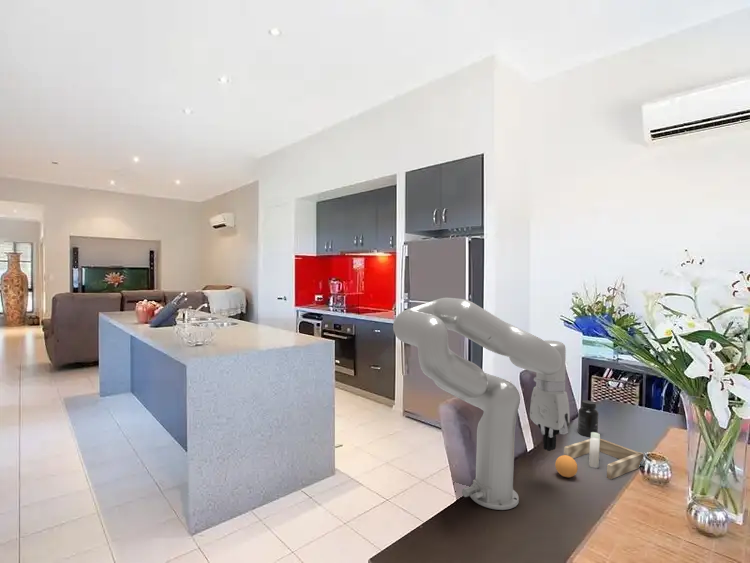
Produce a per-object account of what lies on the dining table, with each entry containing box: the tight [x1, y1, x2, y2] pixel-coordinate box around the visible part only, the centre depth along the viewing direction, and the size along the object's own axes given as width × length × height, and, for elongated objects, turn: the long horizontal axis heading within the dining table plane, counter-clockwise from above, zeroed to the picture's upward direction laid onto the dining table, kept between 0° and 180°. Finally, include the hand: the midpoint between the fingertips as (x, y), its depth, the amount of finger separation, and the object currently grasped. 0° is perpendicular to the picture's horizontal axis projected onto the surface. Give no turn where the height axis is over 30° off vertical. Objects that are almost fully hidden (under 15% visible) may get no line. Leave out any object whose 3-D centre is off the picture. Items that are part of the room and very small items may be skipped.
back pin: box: [590, 432, 601, 449], centre depth 136 cm, size 3×3×8 cm
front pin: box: [588, 437, 600, 469], centre depth 131 cm, size 3×3×8 cm
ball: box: [555, 454, 579, 478], centre depth 124 cm, size 6×6×6 cm
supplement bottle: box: [577, 399, 600, 438], centre depth 158 cm, size 7×7×12 cm
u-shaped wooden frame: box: [563, 437, 645, 480], centre depth 134 cm, size 18×15×4 cm
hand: (549, 448), depth 120 cm, fingers closed
